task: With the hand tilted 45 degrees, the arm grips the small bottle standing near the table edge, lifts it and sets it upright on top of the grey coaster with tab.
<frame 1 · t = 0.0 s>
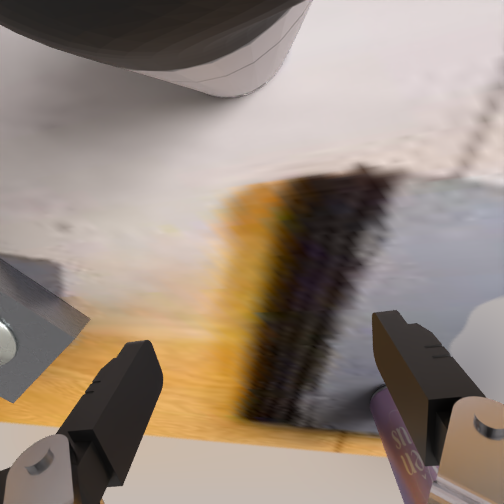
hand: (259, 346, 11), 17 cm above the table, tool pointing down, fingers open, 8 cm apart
beverage can: (392, 397, 36), on the table
grey coaster with tab: (1, 317, 33), on the table
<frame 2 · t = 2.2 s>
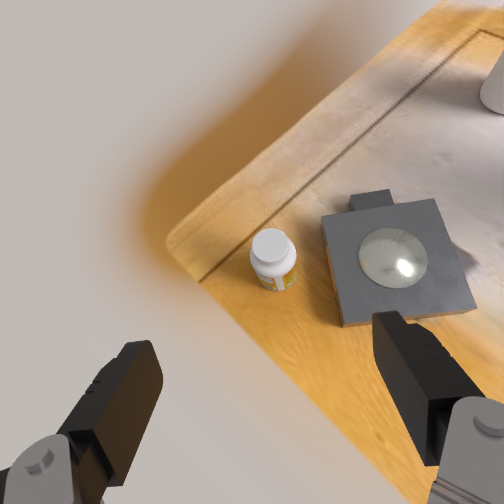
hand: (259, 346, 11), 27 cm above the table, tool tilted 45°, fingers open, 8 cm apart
grey coaster with tab: (385, 266, 38), on the table
supplement bottle: (277, 273, 40), on the table
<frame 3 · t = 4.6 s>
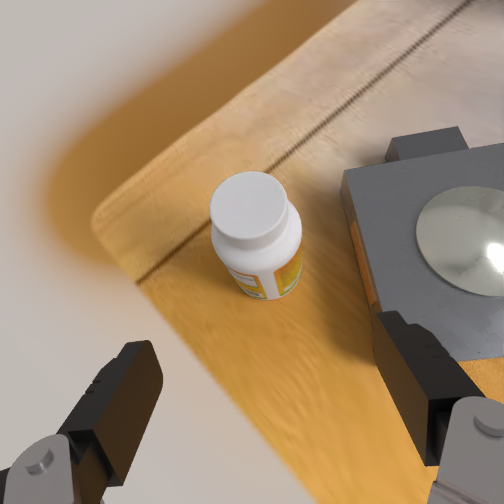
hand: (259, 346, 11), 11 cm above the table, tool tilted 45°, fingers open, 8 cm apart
grey coaster with tab: (457, 256, 22), on the table
supplement bottle: (268, 269, 24), on the table
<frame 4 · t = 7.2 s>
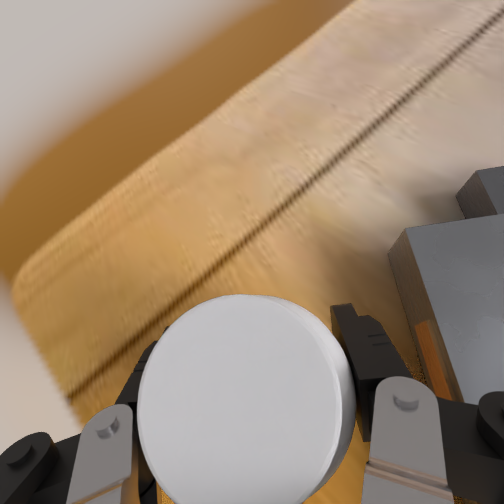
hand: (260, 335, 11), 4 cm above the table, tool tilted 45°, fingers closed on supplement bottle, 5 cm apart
supplement bottle: (276, 384, 15), on the table, touching gripper
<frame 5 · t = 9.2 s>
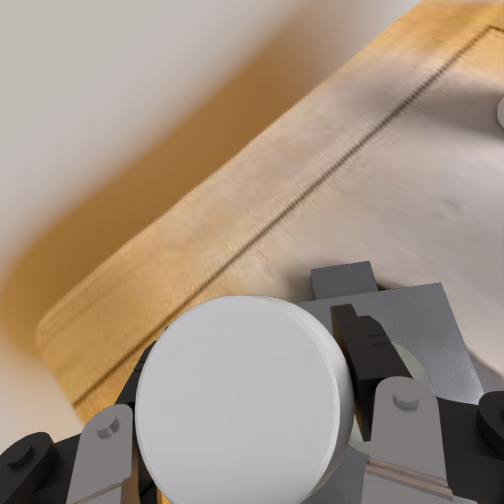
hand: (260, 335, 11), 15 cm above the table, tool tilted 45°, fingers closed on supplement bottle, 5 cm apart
grey coaster with tab: (365, 390, 23), on the table
supplement bottle: (275, 384, 15), point 11 cm above the table, touching gripper
when the fingers open (9 cm above the table, at t = 11.5 s): supplement bottle drops 1 cm, resting on grey coaster with tab.
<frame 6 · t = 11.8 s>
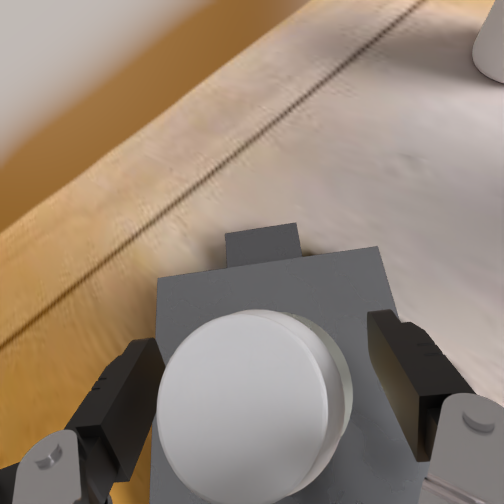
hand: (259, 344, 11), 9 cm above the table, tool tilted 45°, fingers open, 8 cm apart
grey coaster with tab: (281, 383, 19), on the table
supplement bottle: (276, 387, 16), point 3 cm above the table, touching grey coaster with tab
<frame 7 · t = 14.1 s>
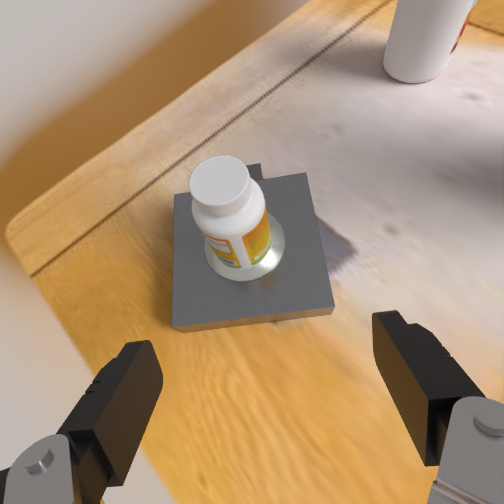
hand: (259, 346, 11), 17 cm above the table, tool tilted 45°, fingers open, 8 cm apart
milk bottle: (412, 66, 39), on the table
grey coaster with tab: (249, 255, 31), on the table
supplement bottle: (243, 244, 28), point 3 cm above the table, touching grey coaster with tab
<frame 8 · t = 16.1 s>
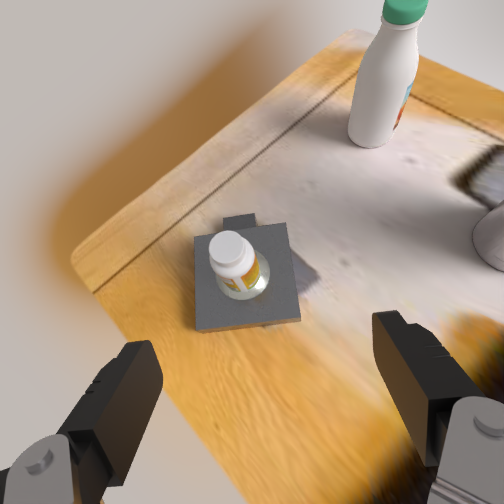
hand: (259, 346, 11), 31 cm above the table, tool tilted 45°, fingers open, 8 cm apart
milk bottle: (369, 132, 51), on the table
grey coaster with tab: (246, 280, 44), on the table
supplement bottle: (242, 274, 41), point 3 cm above the table, touching grey coaster with tab
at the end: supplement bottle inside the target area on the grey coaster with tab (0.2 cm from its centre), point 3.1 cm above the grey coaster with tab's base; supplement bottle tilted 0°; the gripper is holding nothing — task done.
